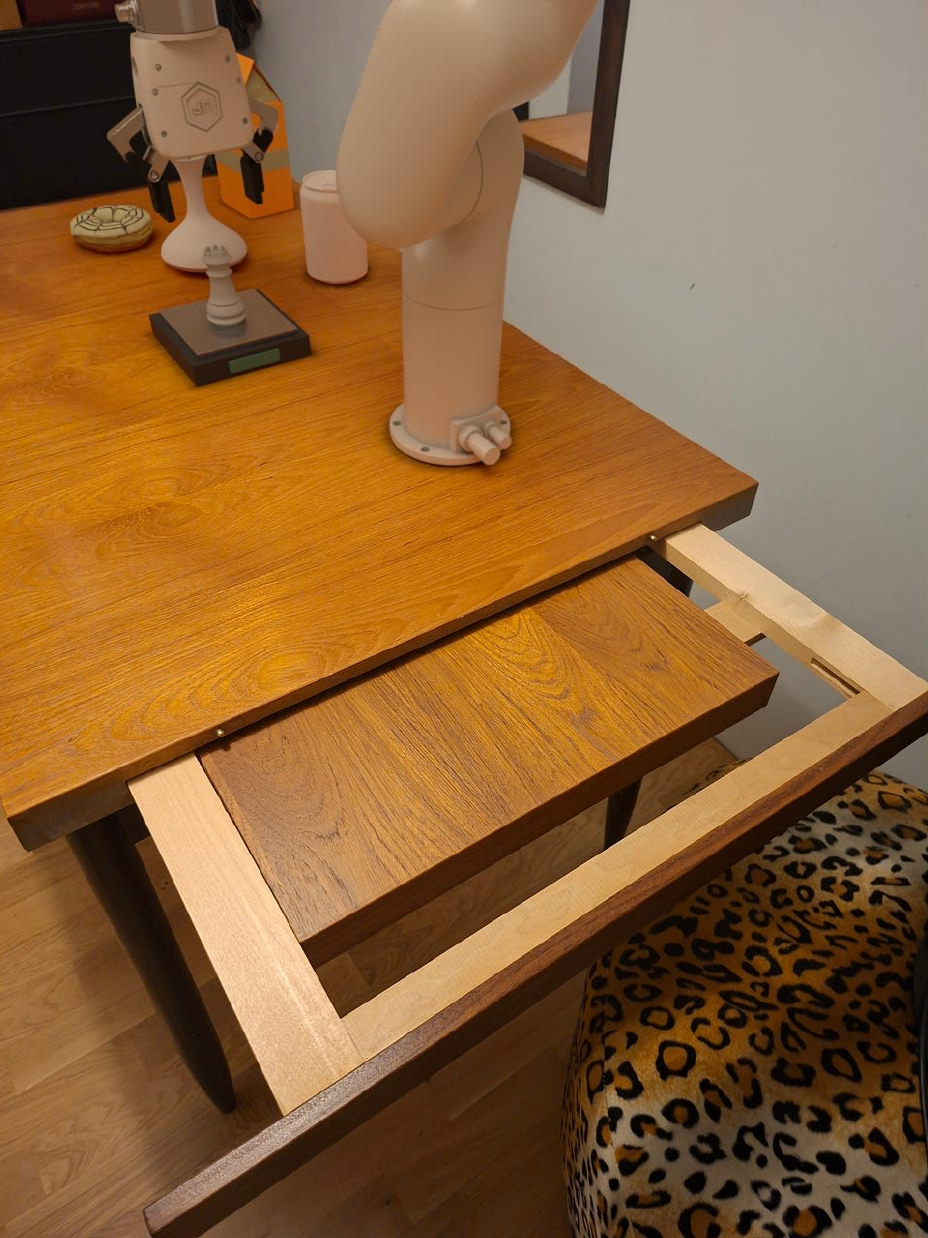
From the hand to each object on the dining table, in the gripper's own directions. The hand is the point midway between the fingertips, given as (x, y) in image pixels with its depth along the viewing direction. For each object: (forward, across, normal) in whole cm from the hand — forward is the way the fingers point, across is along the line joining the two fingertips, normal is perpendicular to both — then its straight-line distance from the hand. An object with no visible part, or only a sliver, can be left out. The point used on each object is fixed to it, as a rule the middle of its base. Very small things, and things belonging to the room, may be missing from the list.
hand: (211, 209), depth 91 cm
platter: (+13, 0, +1) cm, 13 cm away
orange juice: (+15, +21, +40) cm, 47 cm away
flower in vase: (+15, +7, +24) cm, 29 cm away
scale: (+16, 0, +1) cm, 16 cm away
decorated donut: (+15, -2, +37) cm, 40 cm away
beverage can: (+16, +20, +12) cm, 28 cm away
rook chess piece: (+12, 0, +1) cm, 13 cm away
